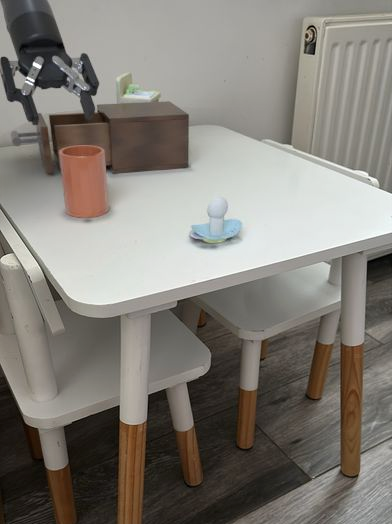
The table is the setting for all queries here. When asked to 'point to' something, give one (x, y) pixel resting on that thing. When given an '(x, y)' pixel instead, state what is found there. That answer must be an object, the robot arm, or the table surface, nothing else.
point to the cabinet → (147, 136)
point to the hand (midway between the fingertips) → (63, 119)
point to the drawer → (68, 135)
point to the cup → (84, 180)
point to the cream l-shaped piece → (133, 91)
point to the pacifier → (216, 224)
